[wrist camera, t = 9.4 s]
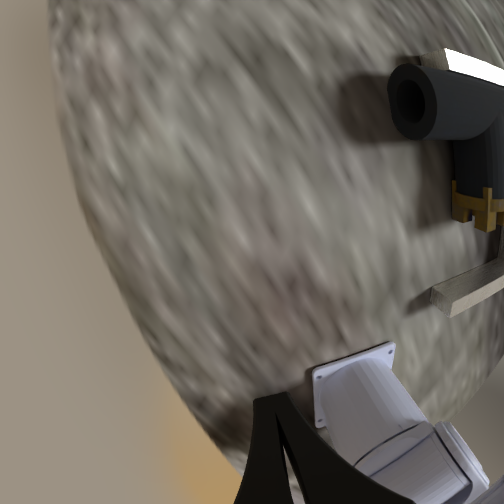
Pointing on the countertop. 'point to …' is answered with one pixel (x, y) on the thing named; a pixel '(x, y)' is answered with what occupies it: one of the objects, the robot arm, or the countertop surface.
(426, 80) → the pipe connector
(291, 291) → the countertop surface
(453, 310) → the aluminium bracket
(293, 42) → the countertop surface
